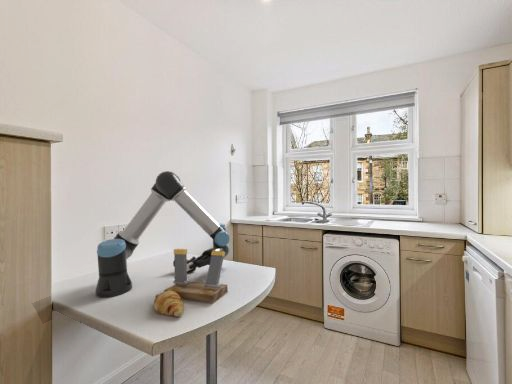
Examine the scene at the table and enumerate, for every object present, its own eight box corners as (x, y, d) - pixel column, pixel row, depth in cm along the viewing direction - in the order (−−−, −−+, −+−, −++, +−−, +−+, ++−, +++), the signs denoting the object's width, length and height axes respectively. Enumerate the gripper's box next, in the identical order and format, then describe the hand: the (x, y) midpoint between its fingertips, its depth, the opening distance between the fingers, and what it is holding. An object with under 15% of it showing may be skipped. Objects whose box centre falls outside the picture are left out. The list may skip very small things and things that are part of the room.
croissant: (188, 325, 94) (197, 302, 96) (164, 321, 88) (173, 297, 90) (164, 306, 110) (171, 287, 112) (141, 302, 104) (150, 282, 106)
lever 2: (206, 287, 112) (213, 252, 119) (219, 288, 109) (226, 252, 116) (203, 286, 110) (211, 250, 117) (216, 287, 107) (223, 250, 114)
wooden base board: (182, 286, 123) (182, 279, 123) (227, 291, 114) (227, 284, 114) (164, 297, 112) (164, 289, 112) (213, 303, 103) (212, 294, 103)
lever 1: (176, 283, 118) (176, 248, 119) (188, 284, 116) (188, 249, 117) (173, 284, 116) (172, 249, 117) (184, 285, 114) (184, 249, 115)
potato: (185, 276, 139) (184, 261, 139) (171, 272, 147) (170, 258, 147) (198, 271, 146) (197, 257, 146) (183, 268, 154) (182, 254, 153)
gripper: (222, 263, 137) (196, 278, 115) (201, 262, 142) (172, 276, 120) (221, 249, 137) (195, 261, 115) (200, 248, 142) (171, 260, 120)
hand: (183, 269), depth 117 cm, fingers closed
